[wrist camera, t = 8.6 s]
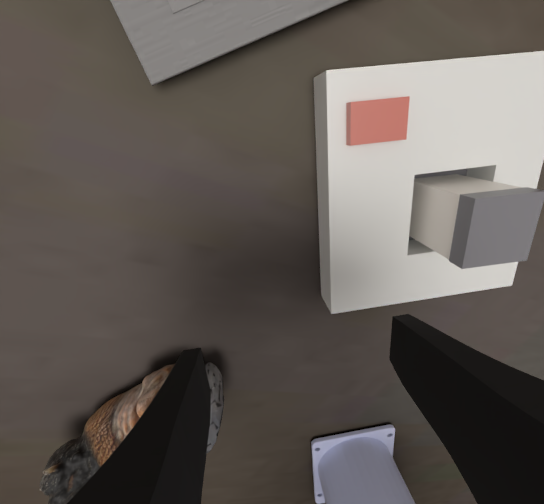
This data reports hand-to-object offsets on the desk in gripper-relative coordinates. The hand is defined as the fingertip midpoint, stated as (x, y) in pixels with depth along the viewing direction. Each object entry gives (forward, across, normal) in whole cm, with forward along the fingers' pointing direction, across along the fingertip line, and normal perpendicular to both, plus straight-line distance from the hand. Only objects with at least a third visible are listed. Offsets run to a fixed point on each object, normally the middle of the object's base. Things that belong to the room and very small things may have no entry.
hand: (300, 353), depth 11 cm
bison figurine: (+10, +11, +11) cm, 18 cm away
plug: (+10, -11, -2) cm, 15 cm away
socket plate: (+10, -10, -3) cm, 14 cm away
